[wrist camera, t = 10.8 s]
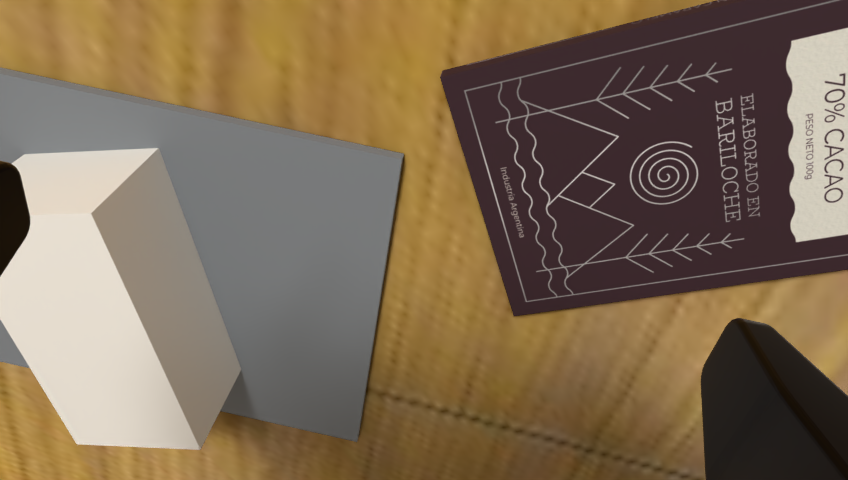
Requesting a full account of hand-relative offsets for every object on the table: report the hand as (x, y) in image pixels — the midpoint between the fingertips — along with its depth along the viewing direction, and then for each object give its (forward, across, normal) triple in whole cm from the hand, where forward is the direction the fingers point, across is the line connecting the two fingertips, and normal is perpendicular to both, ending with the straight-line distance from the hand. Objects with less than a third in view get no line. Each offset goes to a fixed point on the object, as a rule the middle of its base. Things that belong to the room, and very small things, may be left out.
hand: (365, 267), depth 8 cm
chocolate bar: (+13, -10, +2) cm, 16 cm away
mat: (+12, +10, +12) cm, 20 cm away
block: (+12, +10, +12) cm, 19 cm away
